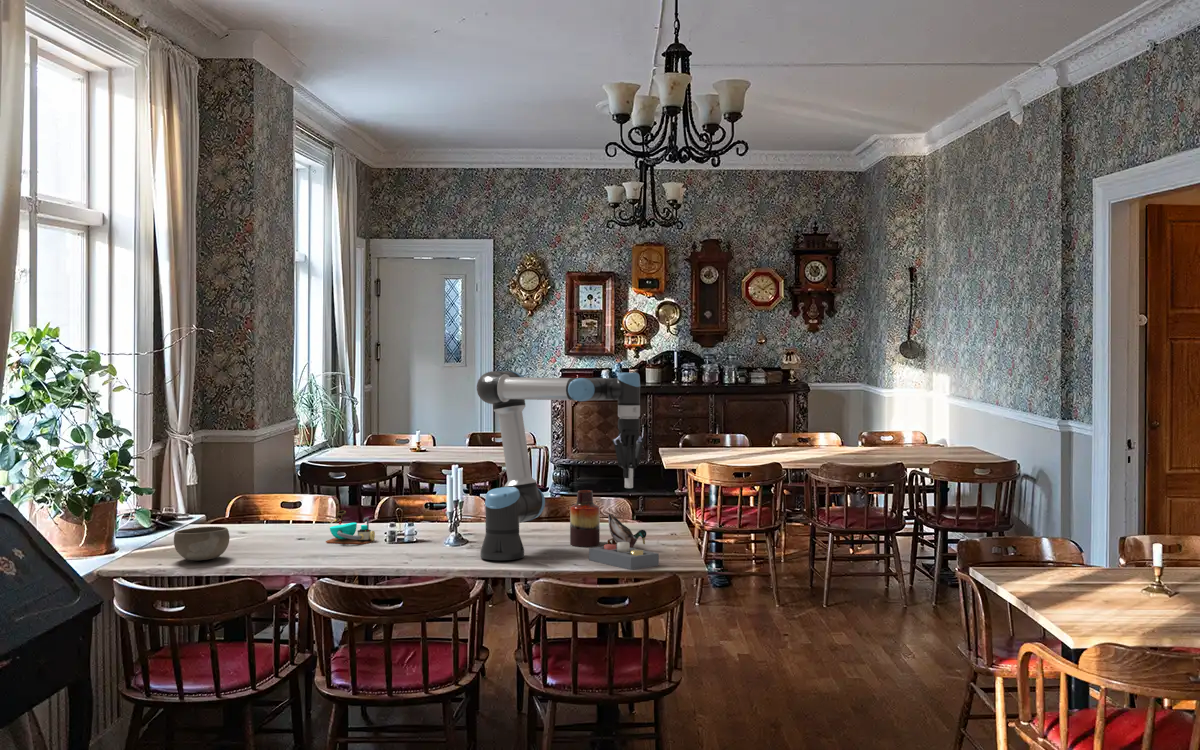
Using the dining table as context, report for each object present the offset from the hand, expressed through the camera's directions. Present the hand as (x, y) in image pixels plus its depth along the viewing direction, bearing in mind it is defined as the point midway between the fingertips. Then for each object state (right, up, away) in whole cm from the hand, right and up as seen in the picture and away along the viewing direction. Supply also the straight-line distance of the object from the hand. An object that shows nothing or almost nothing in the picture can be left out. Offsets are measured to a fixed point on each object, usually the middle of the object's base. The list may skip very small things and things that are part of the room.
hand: (628, 487), depth 345 cm
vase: (-15, -25, +30) cm, 42 cm away
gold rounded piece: (+2, -23, -8) cm, 25 cm away
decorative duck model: (+2, -25, +21) cm, 32 cm away
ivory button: (-2, -22, -3) cm, 22 cm away
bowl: (-146, -25, +5) cm, 148 cm away
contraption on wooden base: (-103, -25, +35) cm, 112 cm away
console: (-2, -25, -3) cm, 25 cm away
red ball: (-6, -23, +2) cm, 24 cm away
